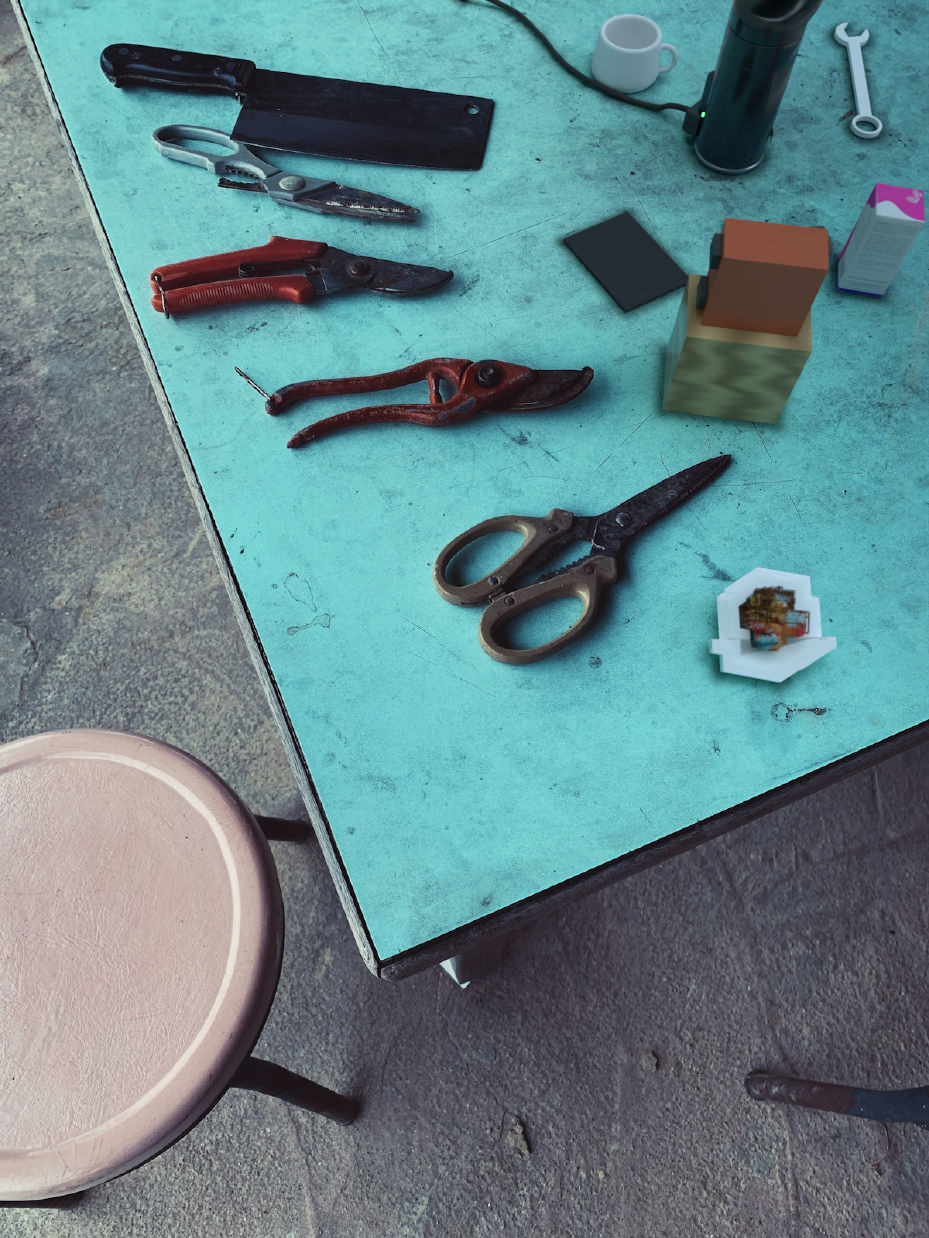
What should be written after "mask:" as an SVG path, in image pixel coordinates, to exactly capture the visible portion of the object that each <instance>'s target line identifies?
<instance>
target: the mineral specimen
mask: <svg viewBox="0 0 929 1238" xmlns="http://www.w3.org/2000/svg"><path fill="white" fill-rule="evenodd" d="M811 584H812V583H811V576H810V575H805V574H799V573H793V572H789V571H788V572H787V571H784V570H783V571H782V570H777V569H772V568H771V569H770V568H766V567H759V566H757V567H755V568H753V569H752V570H750V571H749V572H748V573H746V574H744V575H743V576H741V577H740V578H738V579H737V580H735V581H734V582H733V583H731V584H728V586H726V587H724V588H723V592H721V593H719V594H718V595H717V596H716V607H717V608H716V610H717V626H718V638H711V639H708V646H709V647H708V649H709V654H712V655H715V656H716V655H717V656H718V657H719V670H720V673H725V674H729V675H736V676H741V677H746V678H751V679H756V680H762V681H767V682H772V683H782V682H784V681H785V680H787V679H788V678H789V677H791V676H794V674H796V673H797V672H798V671H802V670H804V669H806V668H807V667H808V666H810V665H811V664H814V663H815V662H817V660H820V659H821V658H823V657H824V656H825V655H827V654H828V653H830V652H831V651H833V650H835V649H836V648H837V647H838V644H837V636H834V635H833V636H823V633H822V618H821V616H822V615H821V603H820V597H819V596H814V595H812V585H811Z"/></svg>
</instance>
